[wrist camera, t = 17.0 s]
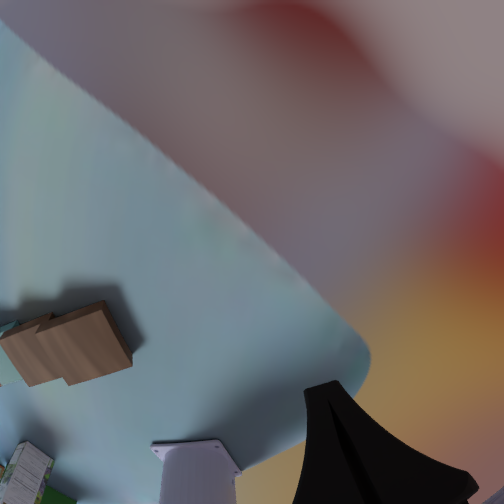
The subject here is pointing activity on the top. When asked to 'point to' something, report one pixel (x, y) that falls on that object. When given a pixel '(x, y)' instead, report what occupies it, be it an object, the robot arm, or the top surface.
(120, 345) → the tile
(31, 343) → the tile
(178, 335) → the top surface
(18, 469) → the syrup box
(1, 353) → the teal tile
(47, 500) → the hardback book
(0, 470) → the cracker box
